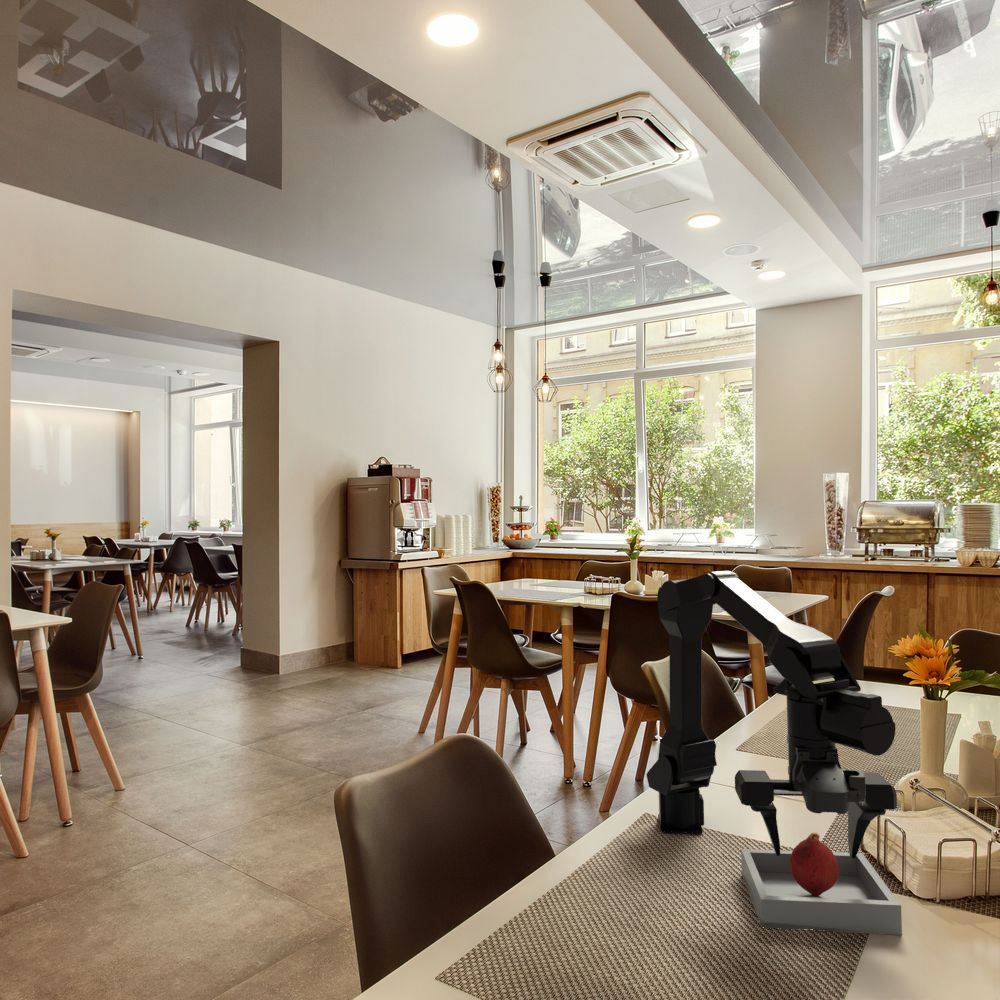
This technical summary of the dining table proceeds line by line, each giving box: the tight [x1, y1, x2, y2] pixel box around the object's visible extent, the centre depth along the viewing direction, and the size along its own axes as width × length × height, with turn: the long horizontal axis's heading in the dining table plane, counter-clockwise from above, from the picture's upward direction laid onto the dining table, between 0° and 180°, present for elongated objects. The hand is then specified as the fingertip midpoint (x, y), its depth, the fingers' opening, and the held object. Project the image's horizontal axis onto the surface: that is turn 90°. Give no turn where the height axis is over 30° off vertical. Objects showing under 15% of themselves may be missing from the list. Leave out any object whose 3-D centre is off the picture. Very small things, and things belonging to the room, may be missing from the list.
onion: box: [790, 831, 839, 896], centre depth 100 cm, size 6×6×8 cm
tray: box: [740, 848, 903, 936], centre depth 100 cm, size 16×14×4 cm
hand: (814, 855), depth 100 cm, fingers open, 9 cm apart
